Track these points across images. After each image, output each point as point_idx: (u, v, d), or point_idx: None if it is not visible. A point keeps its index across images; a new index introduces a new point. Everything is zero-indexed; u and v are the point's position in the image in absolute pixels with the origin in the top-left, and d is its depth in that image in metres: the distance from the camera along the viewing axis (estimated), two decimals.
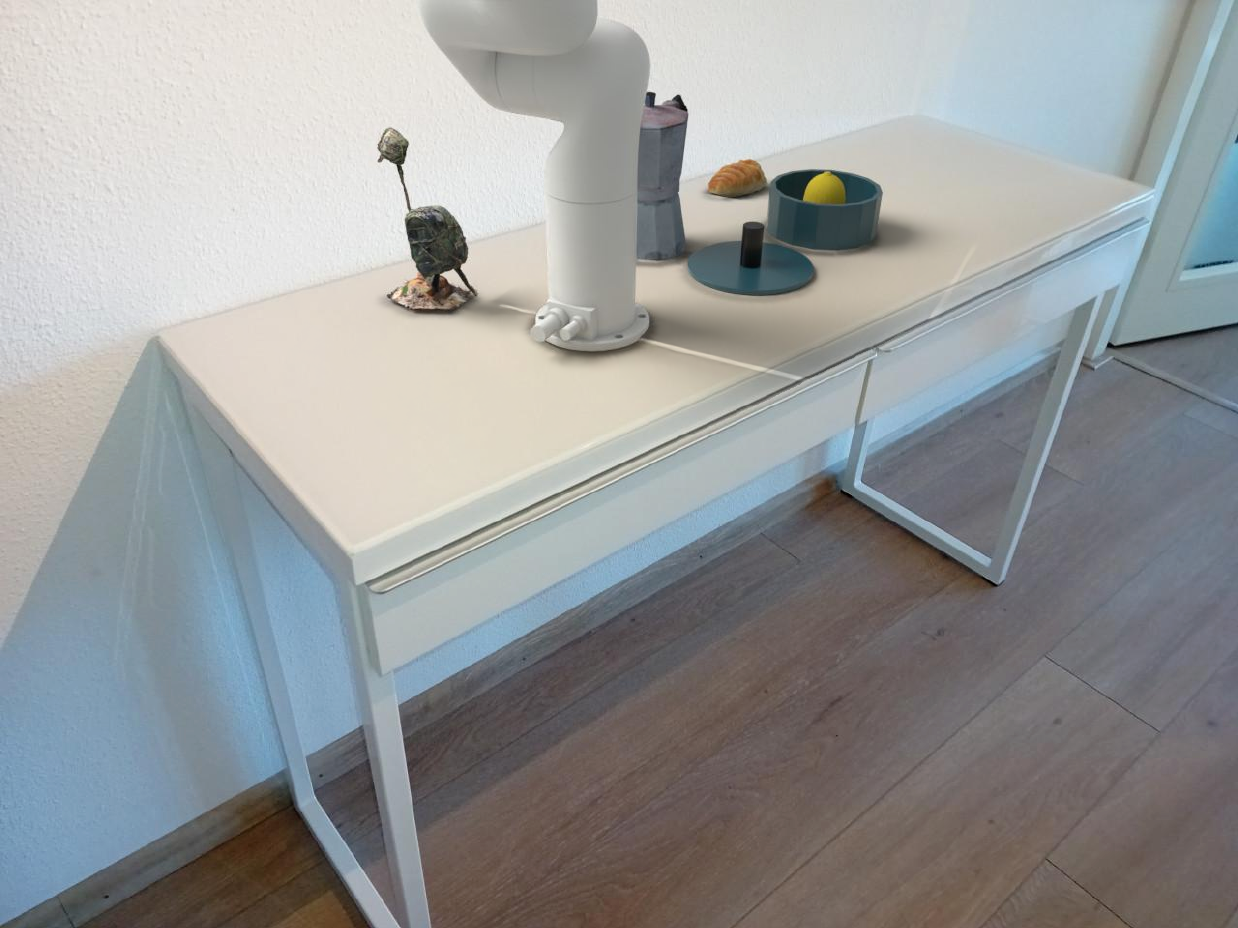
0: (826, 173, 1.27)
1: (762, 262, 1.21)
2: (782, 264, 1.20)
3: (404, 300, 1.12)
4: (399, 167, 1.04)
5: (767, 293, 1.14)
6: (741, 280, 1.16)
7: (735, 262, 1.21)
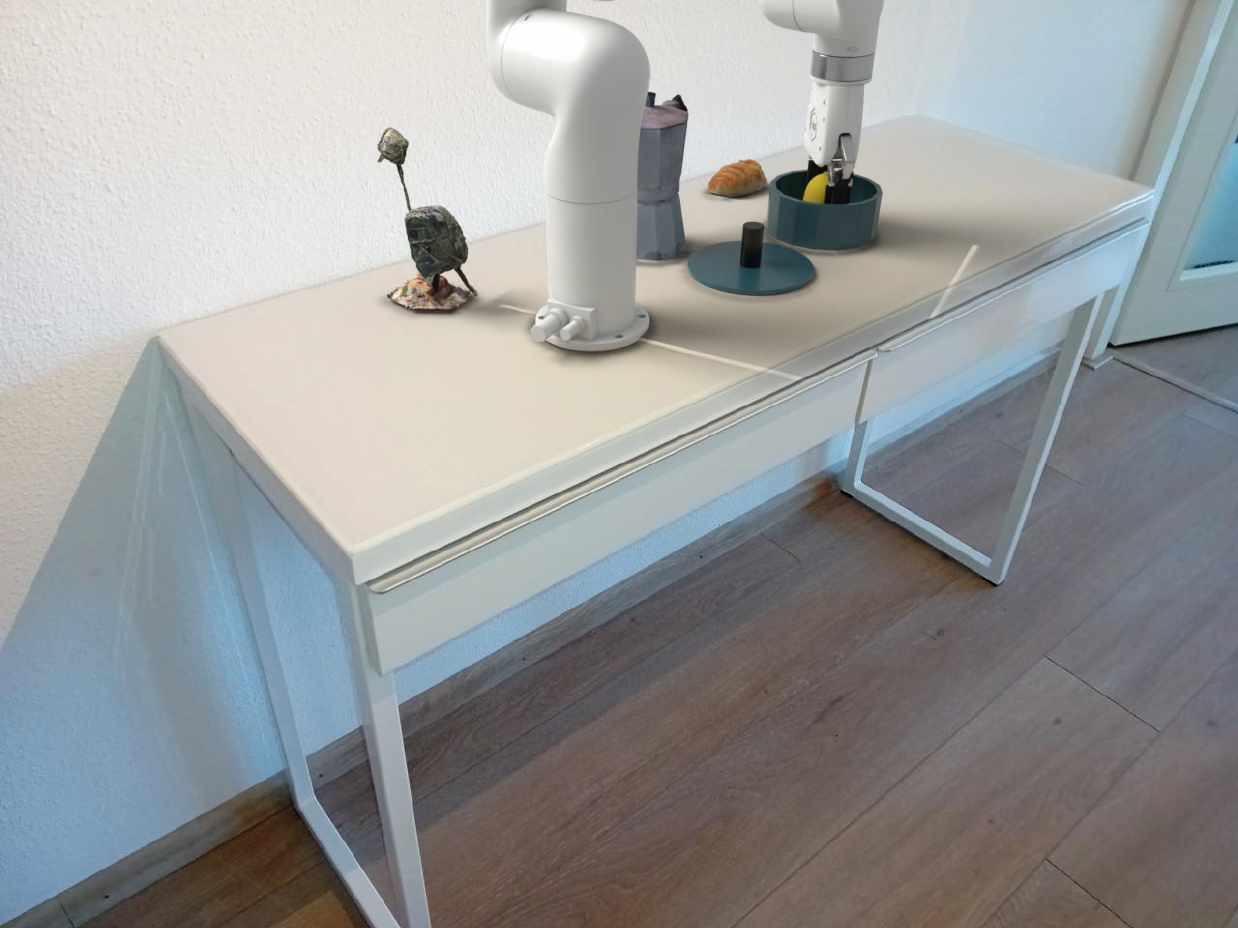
0: (826, 173, 1.27)
1: (762, 262, 1.21)
2: (782, 264, 1.20)
3: (404, 300, 1.12)
4: (399, 167, 1.04)
5: (767, 293, 1.14)
6: (741, 280, 1.16)
7: (735, 262, 1.21)
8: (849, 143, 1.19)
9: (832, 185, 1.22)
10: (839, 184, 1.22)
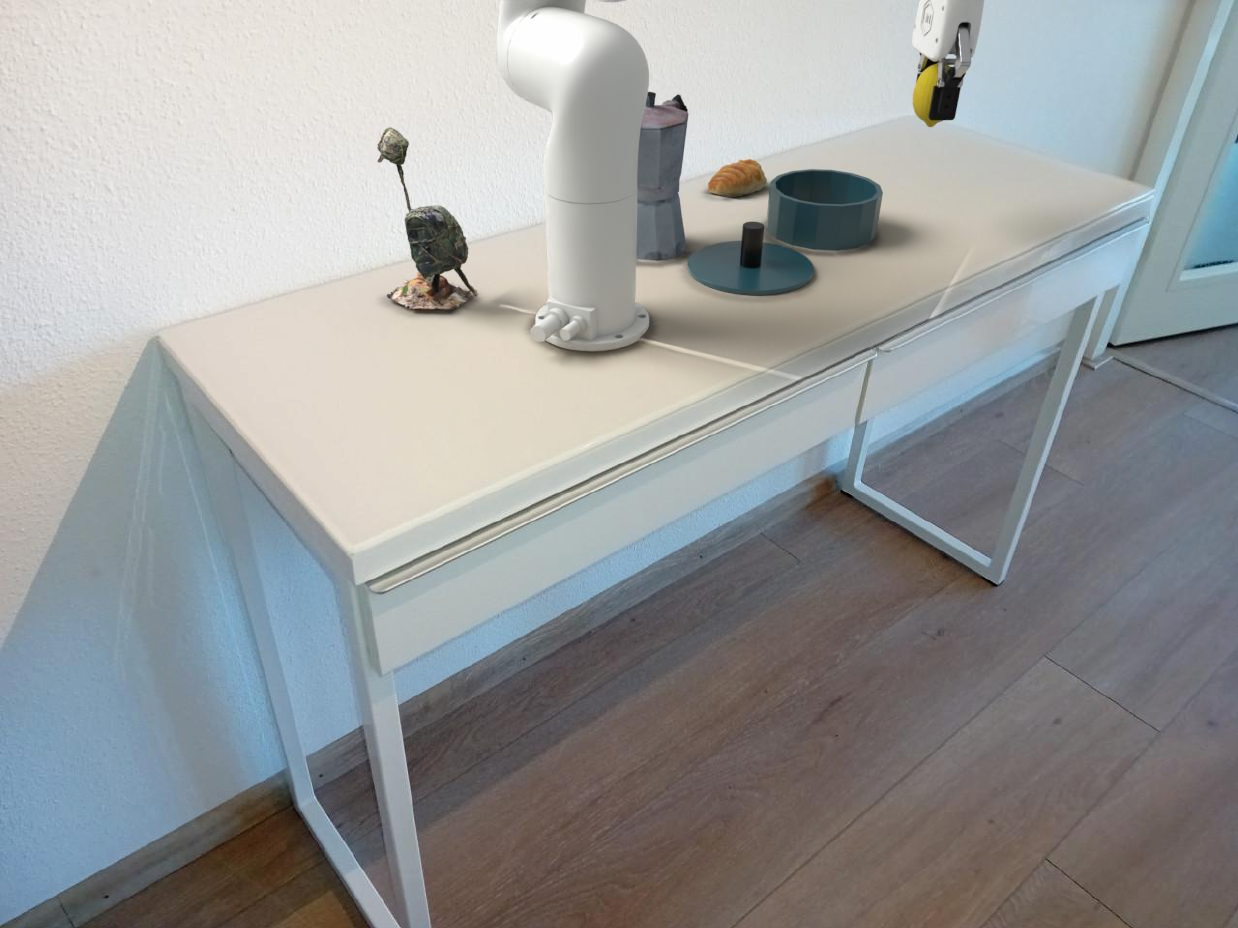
0: None
1: (762, 262, 1.21)
2: (782, 264, 1.20)
3: (404, 300, 1.12)
4: (399, 167, 1.04)
5: (767, 293, 1.14)
6: (741, 280, 1.16)
7: (735, 262, 1.21)
8: (967, 40, 1.14)
9: (942, 85, 1.18)
10: (949, 83, 1.17)
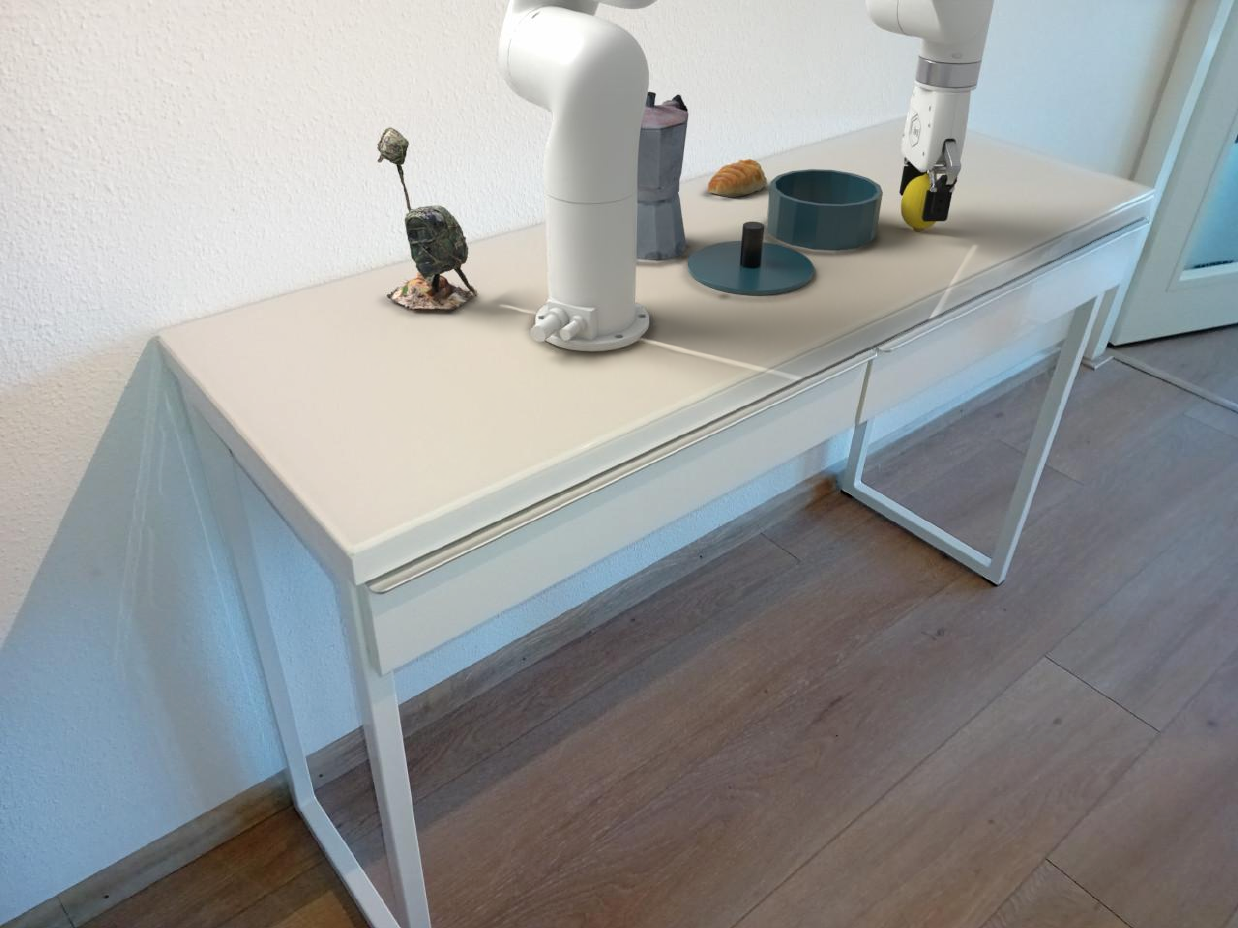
0: (926, 175, 1.28)
1: (762, 262, 1.21)
2: (782, 264, 1.20)
3: (404, 300, 1.12)
4: (399, 167, 1.04)
5: (767, 293, 1.14)
6: (741, 280, 1.16)
7: (735, 262, 1.21)
8: (954, 149, 1.20)
9: (934, 190, 1.23)
10: (941, 189, 1.23)
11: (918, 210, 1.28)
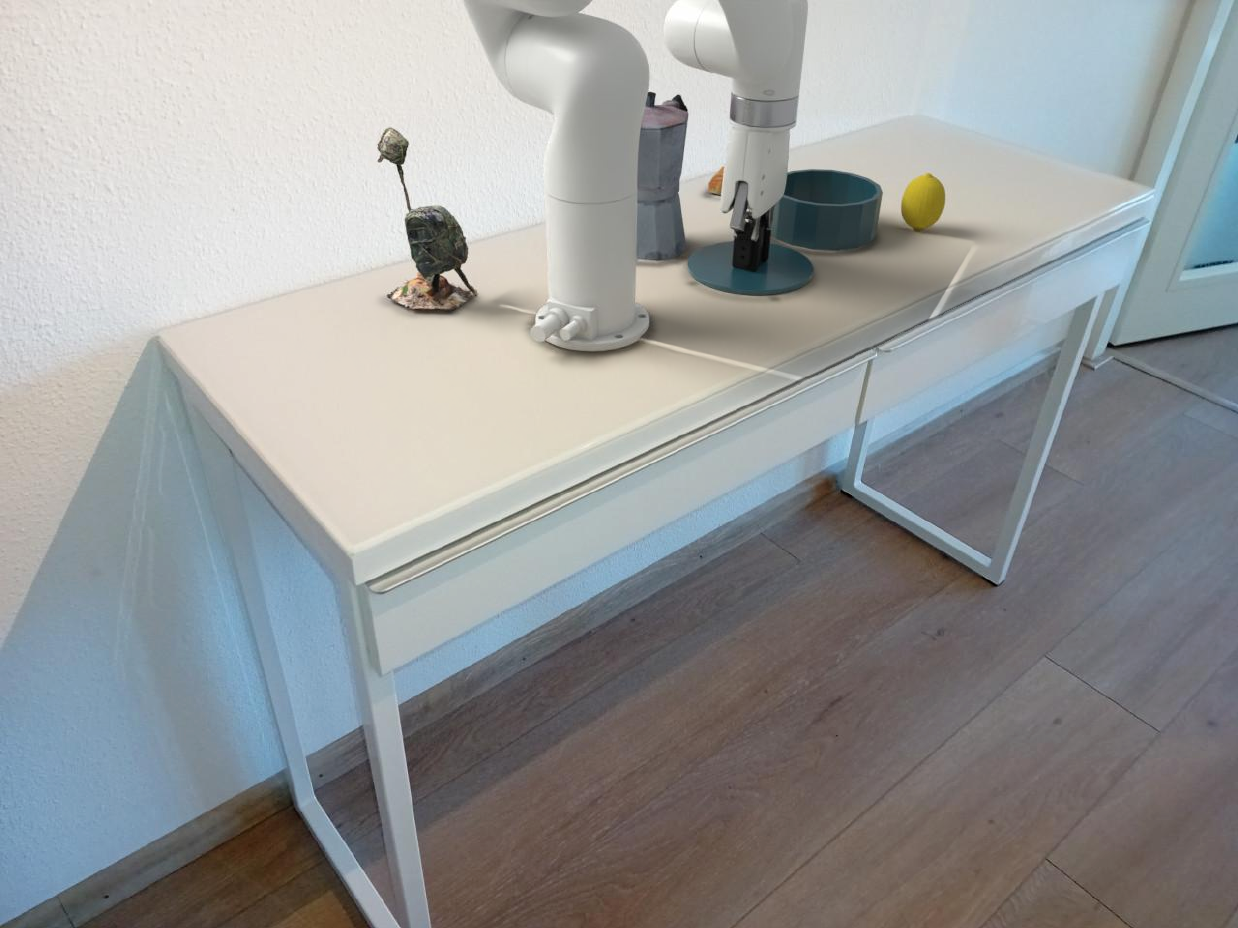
0: (927, 175, 1.28)
1: (762, 262, 1.21)
2: (782, 264, 1.20)
3: (404, 300, 1.12)
4: (399, 167, 1.04)
5: (767, 293, 1.14)
6: (741, 280, 1.16)
7: None
8: (742, 202, 1.11)
9: (735, 236, 1.16)
10: (740, 236, 1.15)
11: (918, 210, 1.28)
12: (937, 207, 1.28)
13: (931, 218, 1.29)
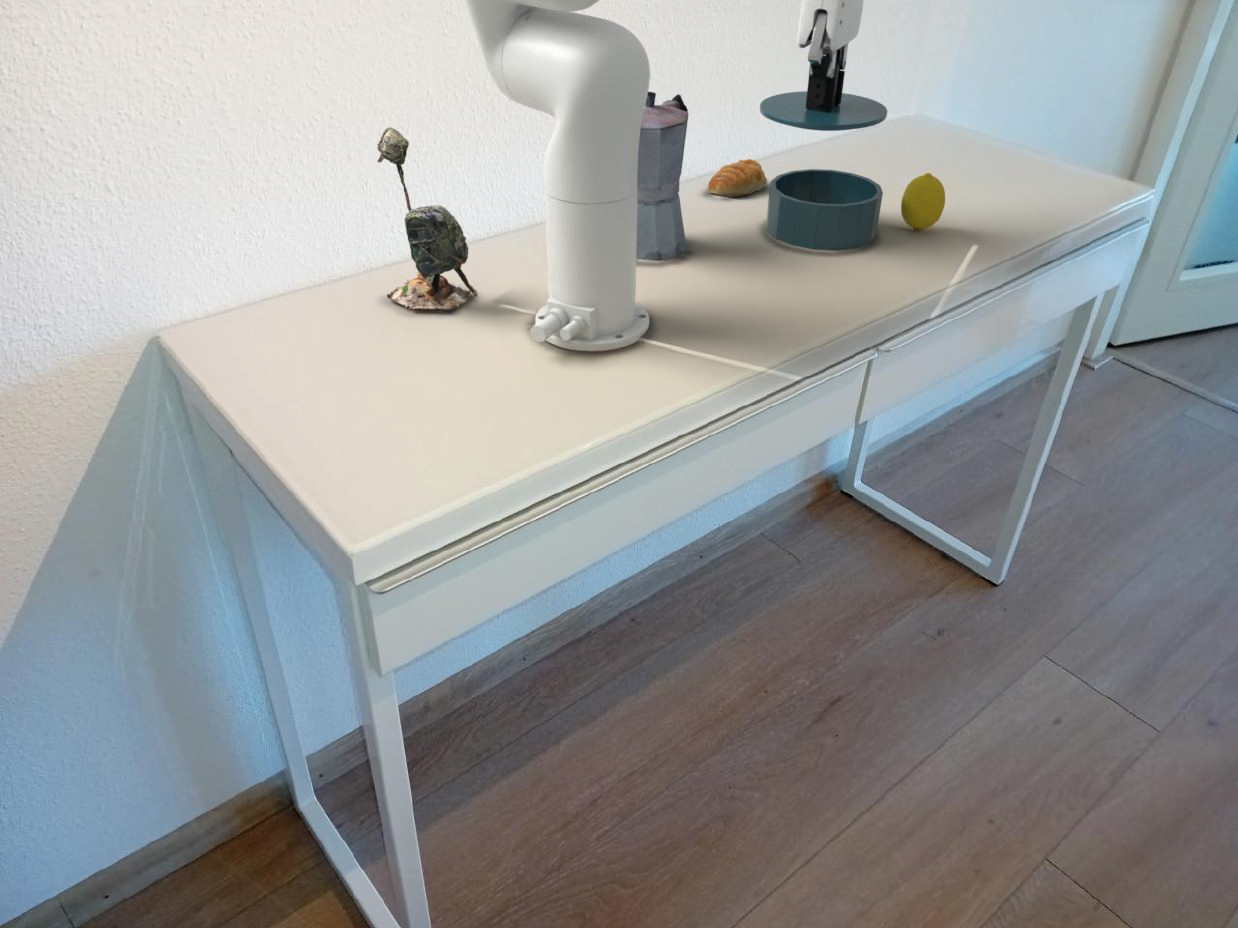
0: (927, 175, 1.28)
1: (835, 106, 1.20)
2: (855, 107, 1.20)
3: (404, 300, 1.12)
4: (399, 167, 1.04)
5: (844, 128, 1.14)
6: (816, 118, 1.16)
7: None
8: (821, 32, 1.11)
9: (810, 73, 1.16)
10: (816, 73, 1.15)
11: (918, 210, 1.28)
12: (937, 208, 1.28)
13: (931, 218, 1.29)
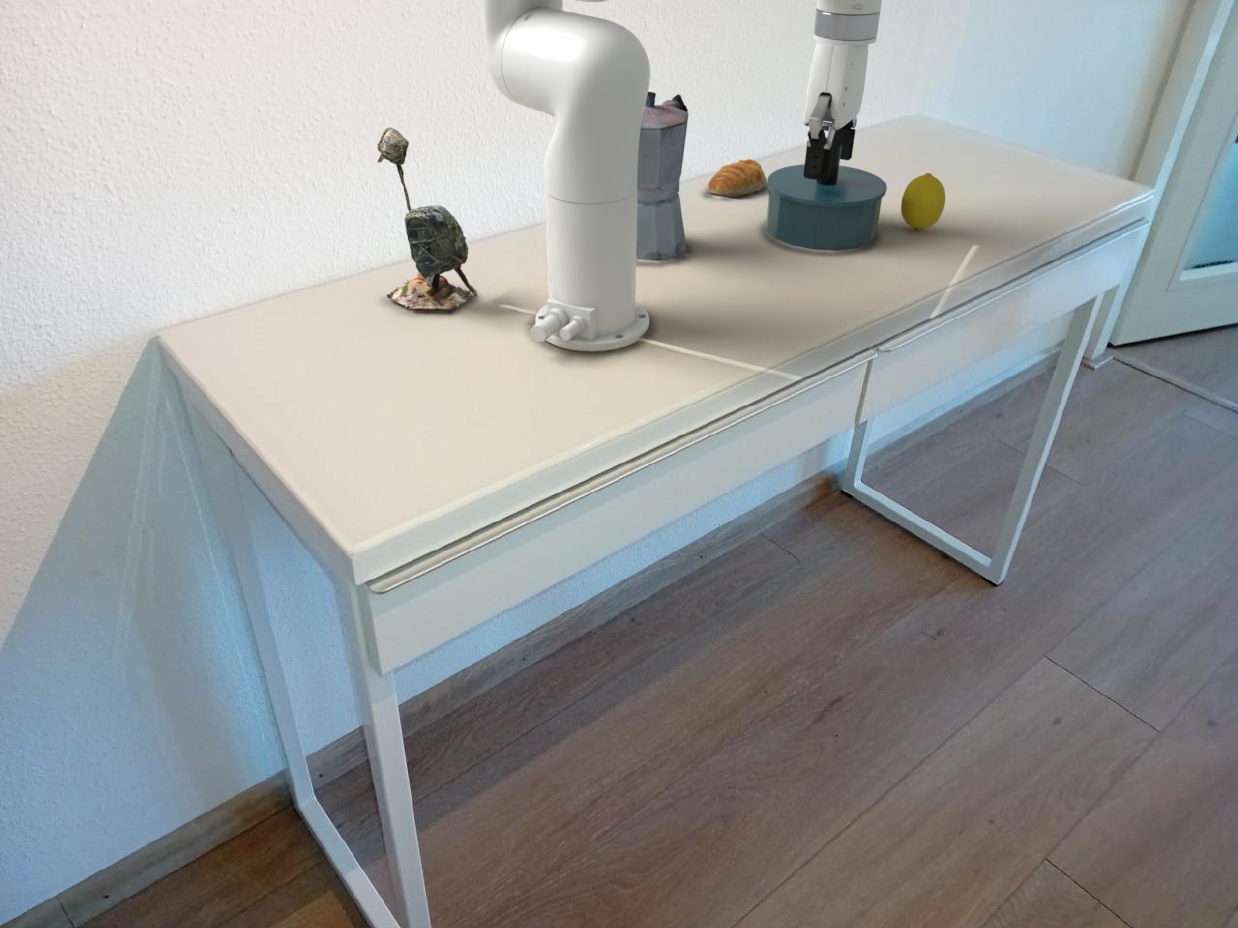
0: (927, 175, 1.28)
1: (837, 180, 1.28)
2: (857, 182, 1.28)
3: (404, 300, 1.12)
4: (399, 167, 1.04)
5: (846, 205, 1.22)
6: (820, 194, 1.24)
7: (812, 180, 1.28)
8: (824, 103, 1.17)
9: (808, 145, 1.20)
10: (813, 144, 1.20)
11: (918, 210, 1.28)
12: (936, 207, 1.28)
13: (931, 218, 1.29)
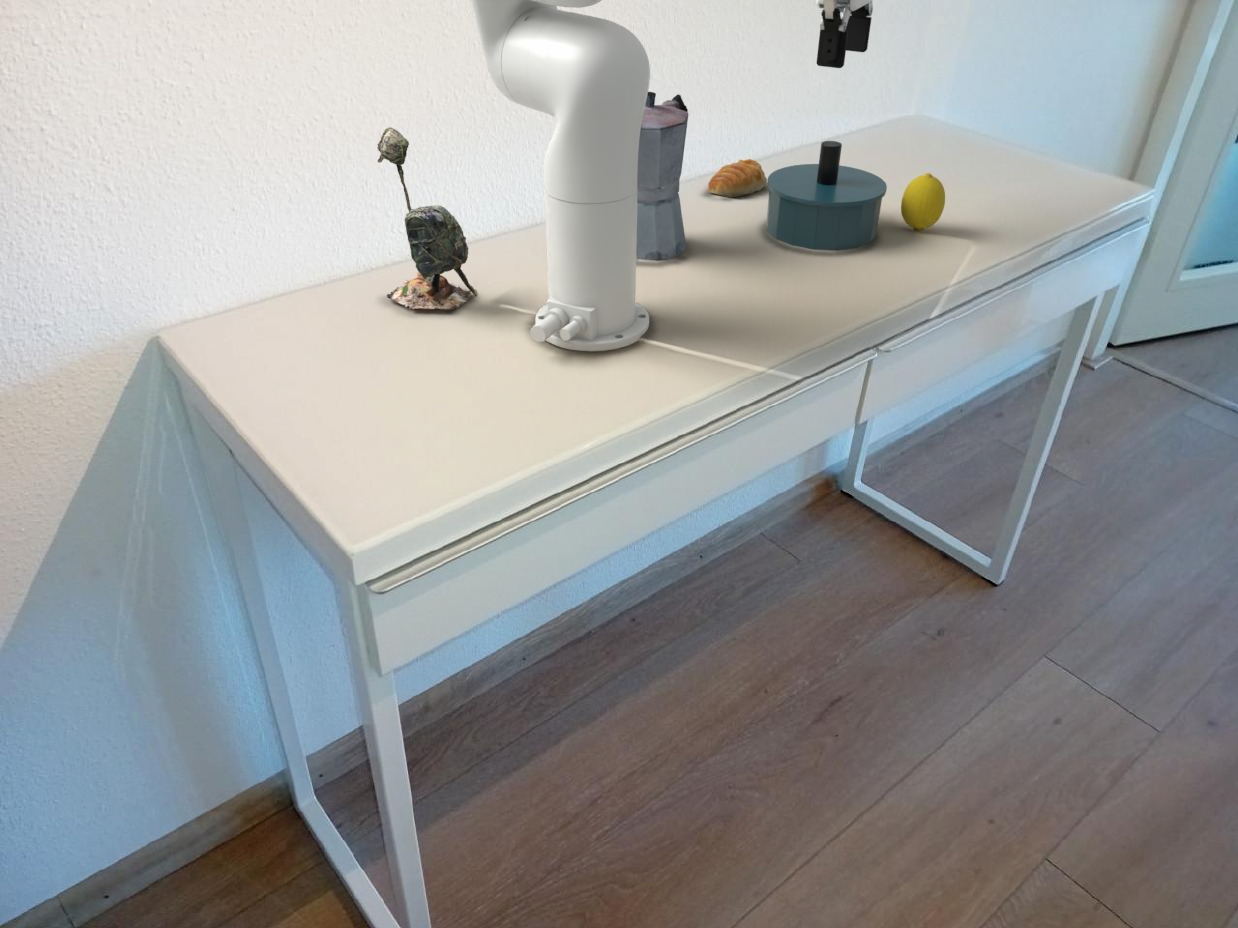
0: (927, 175, 1.28)
1: (837, 180, 1.28)
2: (857, 182, 1.28)
3: (404, 300, 1.12)
4: (399, 167, 1.04)
5: (846, 205, 1.22)
6: (820, 194, 1.24)
7: (812, 180, 1.28)
8: None
9: (822, 27, 1.13)
10: (827, 26, 1.12)
11: (918, 210, 1.28)
12: (936, 208, 1.28)
13: (931, 218, 1.29)
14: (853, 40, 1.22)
